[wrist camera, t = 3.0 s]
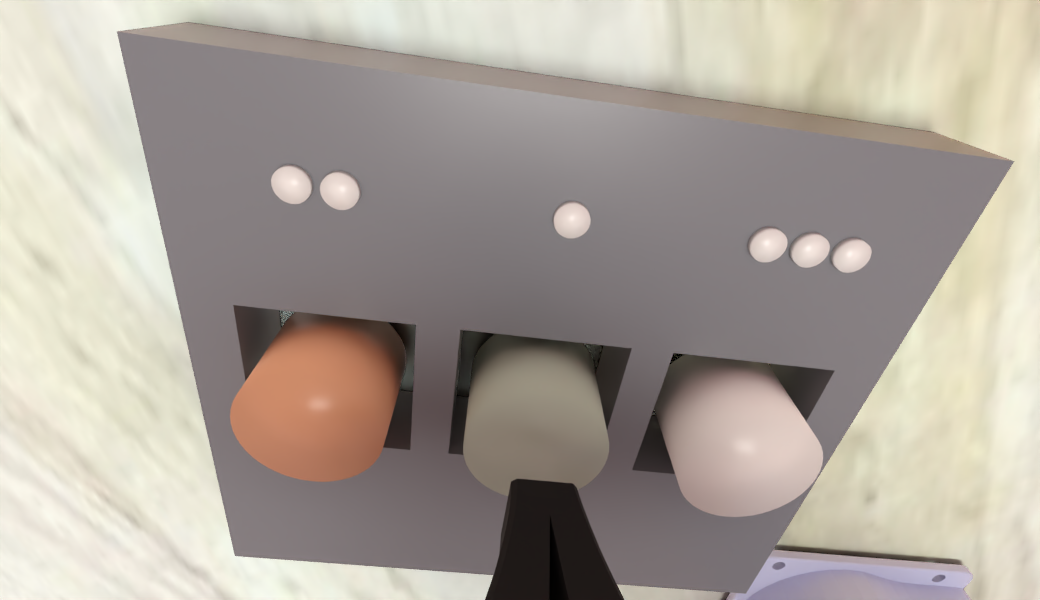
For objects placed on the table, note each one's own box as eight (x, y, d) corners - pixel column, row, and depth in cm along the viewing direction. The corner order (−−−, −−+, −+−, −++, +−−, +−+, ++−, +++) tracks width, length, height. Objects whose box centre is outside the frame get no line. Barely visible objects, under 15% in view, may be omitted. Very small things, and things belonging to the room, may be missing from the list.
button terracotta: (408, 309, 15) (385, 379, 12) (404, 407, 16) (384, 487, 14) (272, 294, 14) (218, 363, 12) (284, 395, 16) (241, 475, 14)
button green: (605, 330, 15) (624, 403, 12) (580, 424, 17) (592, 504, 14) (477, 316, 15) (469, 388, 12) (466, 413, 16) (457, 493, 14)
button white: (792, 351, 15) (848, 426, 13) (748, 440, 17) (788, 522, 15) (671, 338, 15) (703, 412, 12) (639, 430, 17) (661, 511, 14)
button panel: (934, 132, 13) (1021, 163, 11) (723, 532, 22) (747, 598, 19) (188, 21, 12) (110, 32, 10) (264, 494, 20) (232, 561, 18)
